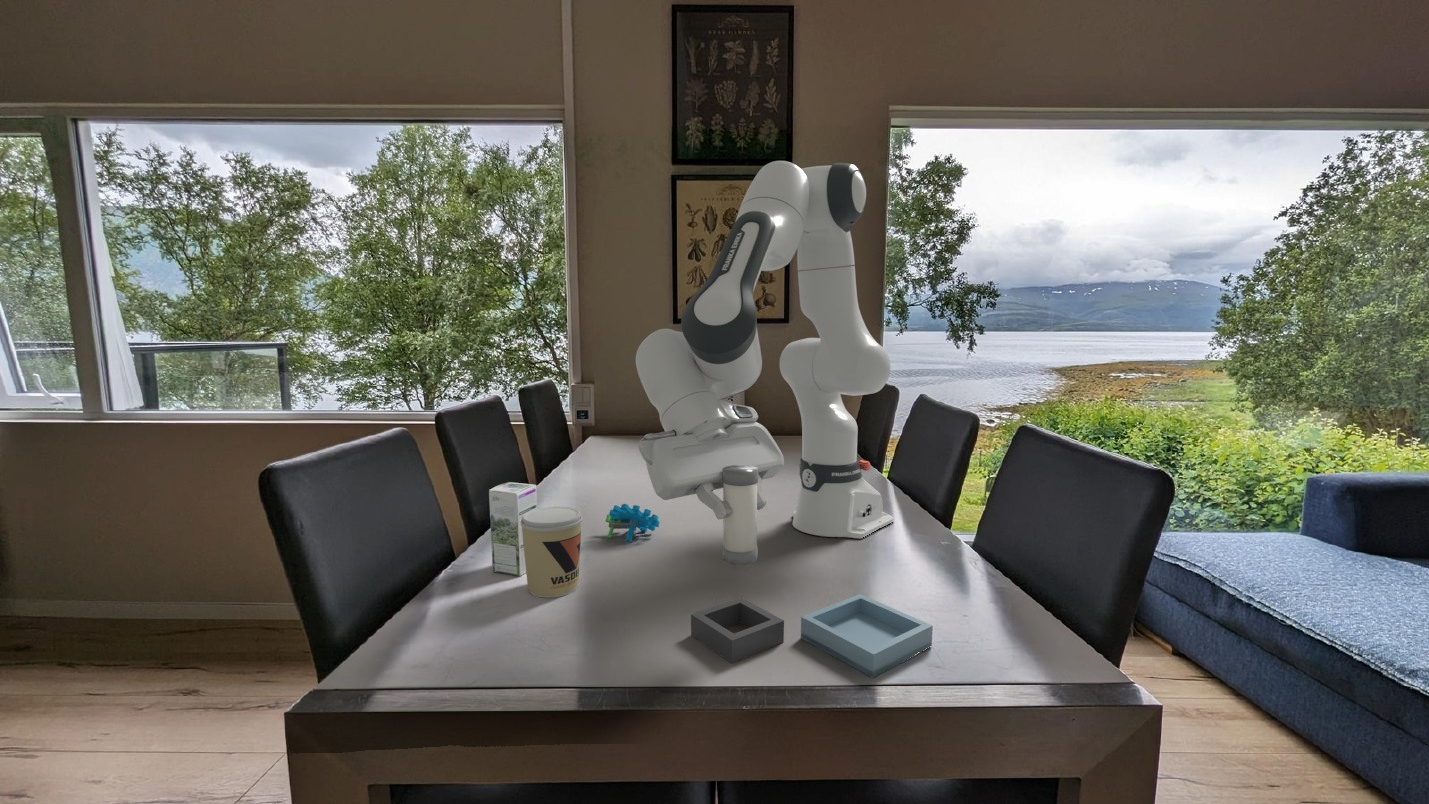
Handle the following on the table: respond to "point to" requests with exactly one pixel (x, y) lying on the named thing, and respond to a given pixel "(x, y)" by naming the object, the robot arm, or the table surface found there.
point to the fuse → (740, 514)
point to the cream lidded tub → (552, 550)
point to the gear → (631, 520)
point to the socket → (742, 644)
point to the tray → (866, 634)
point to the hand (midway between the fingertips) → (743, 512)
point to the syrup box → (509, 525)
